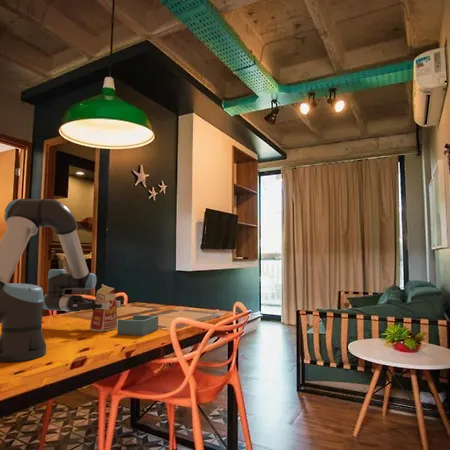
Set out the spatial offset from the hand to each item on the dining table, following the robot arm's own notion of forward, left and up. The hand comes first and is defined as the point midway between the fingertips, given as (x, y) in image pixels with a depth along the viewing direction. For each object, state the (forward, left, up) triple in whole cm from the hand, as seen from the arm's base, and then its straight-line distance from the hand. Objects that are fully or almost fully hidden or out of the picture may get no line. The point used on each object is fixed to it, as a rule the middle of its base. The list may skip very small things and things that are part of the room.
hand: (114, 305), depth 158 cm
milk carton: (+3, +4, -11) cm, 12 cm away
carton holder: (-6, -10, -11) cm, 16 cm away
